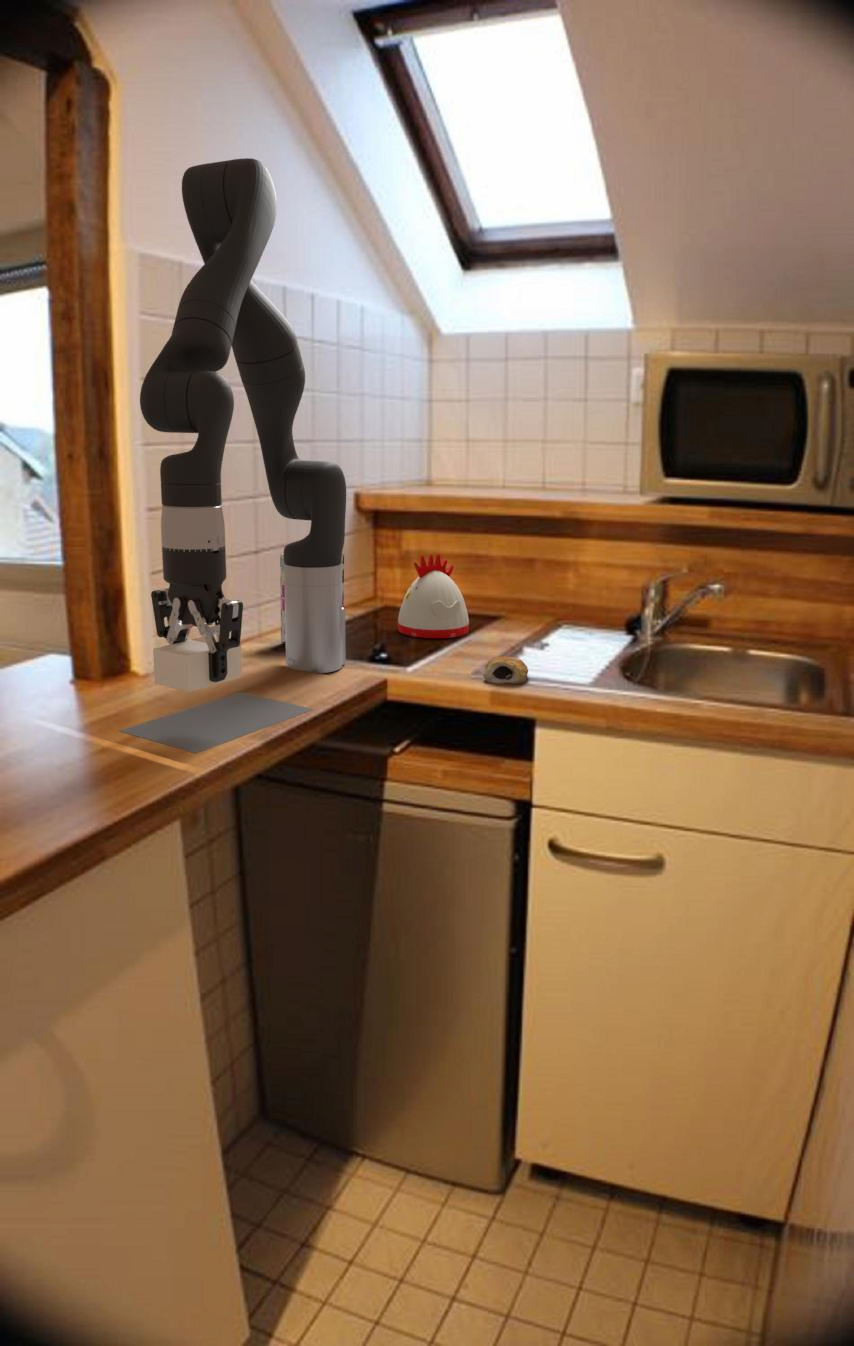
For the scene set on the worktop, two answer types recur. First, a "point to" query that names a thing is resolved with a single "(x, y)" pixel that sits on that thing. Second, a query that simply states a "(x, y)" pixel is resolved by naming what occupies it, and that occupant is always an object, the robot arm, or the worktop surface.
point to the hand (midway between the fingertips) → (199, 675)
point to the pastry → (505, 670)
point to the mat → (216, 721)
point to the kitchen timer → (433, 603)
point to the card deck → (191, 665)
